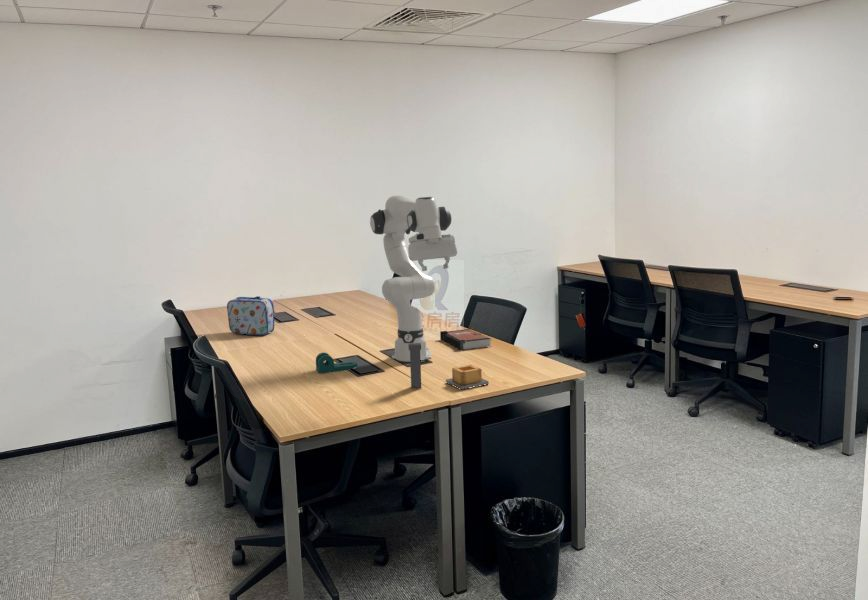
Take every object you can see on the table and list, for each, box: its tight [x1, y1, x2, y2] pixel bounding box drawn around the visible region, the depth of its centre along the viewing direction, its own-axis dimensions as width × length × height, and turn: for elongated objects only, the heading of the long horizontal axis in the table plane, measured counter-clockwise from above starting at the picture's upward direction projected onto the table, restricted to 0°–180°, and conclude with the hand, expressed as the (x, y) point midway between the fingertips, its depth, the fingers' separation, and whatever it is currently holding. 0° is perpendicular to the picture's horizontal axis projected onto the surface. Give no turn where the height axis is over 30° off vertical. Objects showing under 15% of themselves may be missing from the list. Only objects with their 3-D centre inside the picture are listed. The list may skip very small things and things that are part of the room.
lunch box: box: [226, 295, 277, 336], centre depth 387 cm, size 28×10×22 cm, turn 73°
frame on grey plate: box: [445, 364, 489, 389], centre depth 281 cm, size 13×12×6 cm
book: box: [439, 328, 492, 351], centre depth 352 cm, size 26×18×5 cm
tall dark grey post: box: [408, 343, 422, 389], centre depth 277 cm, size 5×3×18 cm, turn 94°
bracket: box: [315, 352, 358, 375], centre depth 309 cm, size 18×7×8 cm, turn 111°
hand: (435, 269), depth 279 cm, fingers open, 8 cm apart
